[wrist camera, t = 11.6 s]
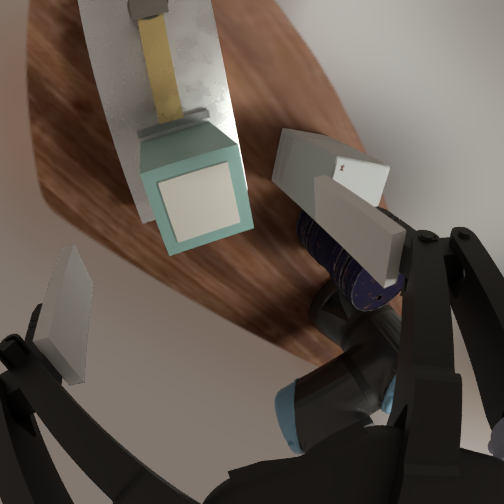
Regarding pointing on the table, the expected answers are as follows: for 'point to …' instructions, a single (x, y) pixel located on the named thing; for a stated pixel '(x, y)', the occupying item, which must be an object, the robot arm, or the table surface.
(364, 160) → the supplement box
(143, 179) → the mint green box
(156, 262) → the table surface
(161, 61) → the hammer with yellow handle
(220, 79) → the white base platform
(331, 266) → the storage jar
